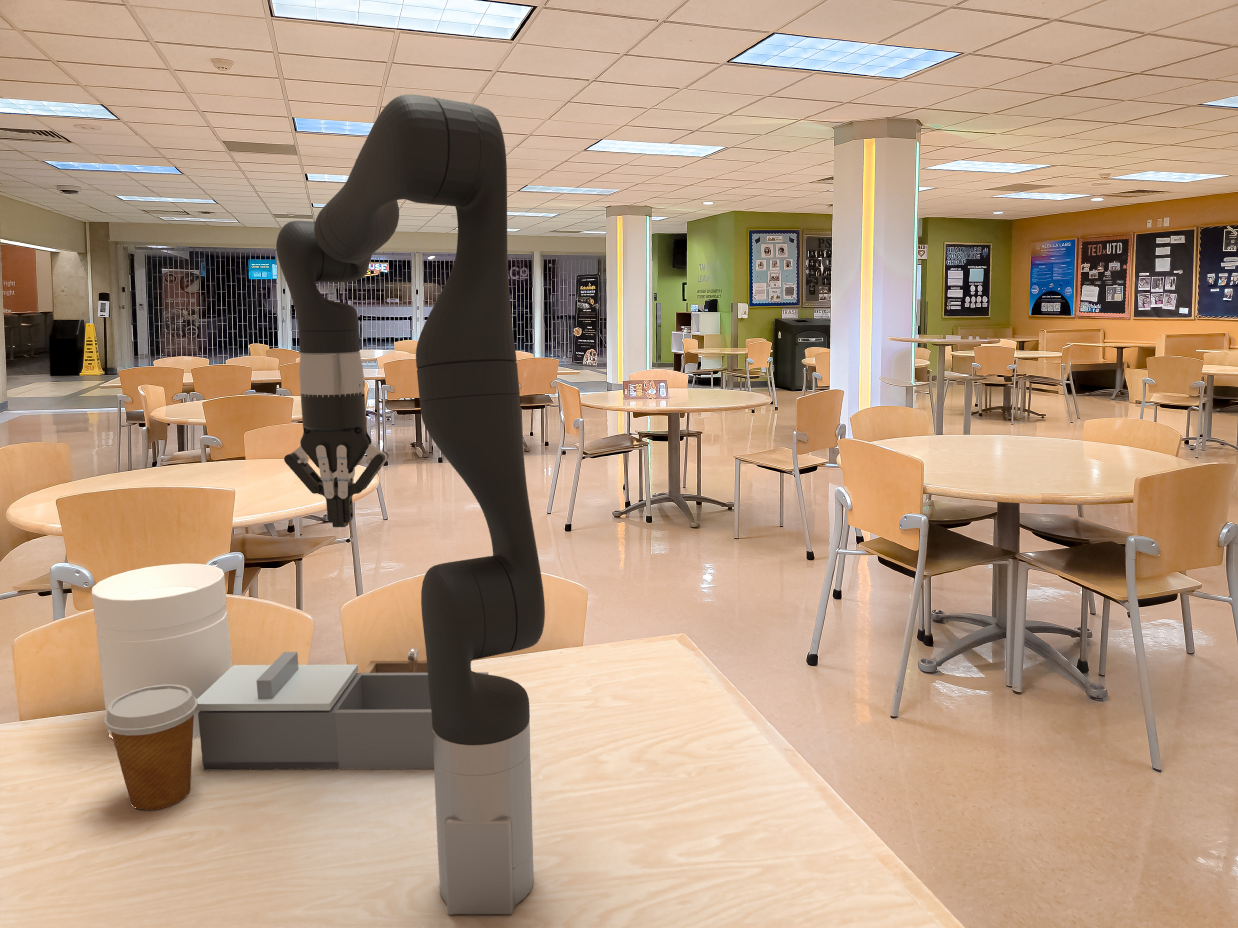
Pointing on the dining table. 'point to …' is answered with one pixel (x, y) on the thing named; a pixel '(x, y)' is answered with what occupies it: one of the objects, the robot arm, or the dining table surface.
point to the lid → (278, 687)
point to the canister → (162, 629)
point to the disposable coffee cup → (154, 743)
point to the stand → (413, 660)
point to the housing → (330, 730)
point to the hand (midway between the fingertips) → (341, 525)
